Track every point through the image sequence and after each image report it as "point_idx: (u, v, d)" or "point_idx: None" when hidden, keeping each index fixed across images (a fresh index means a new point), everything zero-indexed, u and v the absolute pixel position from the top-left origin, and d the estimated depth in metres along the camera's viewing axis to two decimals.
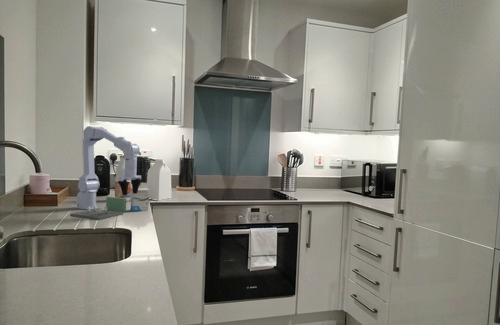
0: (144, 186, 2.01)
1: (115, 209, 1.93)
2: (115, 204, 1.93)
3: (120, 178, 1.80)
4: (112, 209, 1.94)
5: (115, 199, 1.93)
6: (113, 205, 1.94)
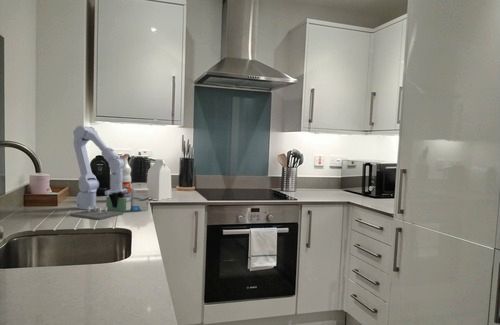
0: (144, 186, 2.01)
1: (115, 209, 1.93)
2: None
3: (106, 192, 1.87)
4: (112, 208, 1.94)
5: None
6: None
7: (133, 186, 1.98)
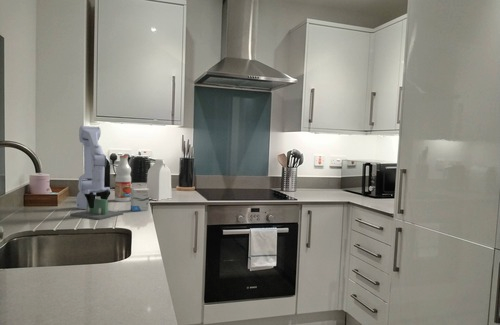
0: (144, 186, 2.01)
1: (96, 211, 1.80)
2: (96, 206, 1.80)
3: (86, 191, 1.74)
4: (93, 211, 1.81)
5: (96, 200, 1.80)
6: (94, 207, 1.80)
7: (133, 186, 1.98)
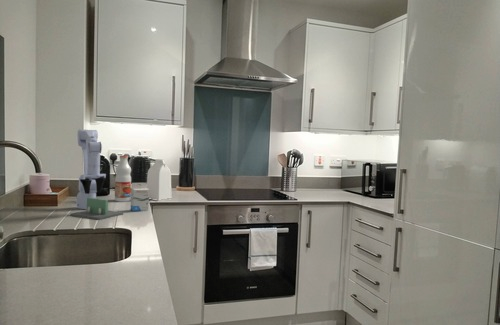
0: (144, 186, 2.01)
1: (96, 211, 1.80)
2: (96, 206, 1.80)
3: (82, 176, 1.77)
4: (93, 211, 1.81)
5: (96, 200, 1.80)
6: (94, 207, 1.80)
7: (133, 186, 1.98)
